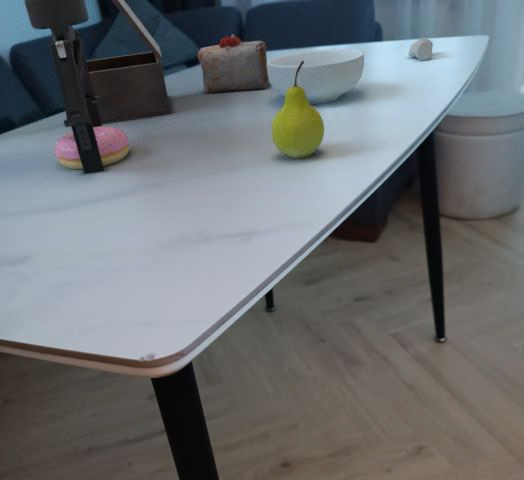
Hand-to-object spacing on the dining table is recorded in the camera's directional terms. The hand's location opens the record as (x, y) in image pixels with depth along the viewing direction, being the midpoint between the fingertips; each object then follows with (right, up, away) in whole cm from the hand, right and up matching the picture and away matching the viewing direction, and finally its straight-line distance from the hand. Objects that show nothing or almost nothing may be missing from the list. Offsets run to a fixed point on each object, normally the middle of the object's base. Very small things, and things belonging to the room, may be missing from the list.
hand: (96, 159), depth 89 cm
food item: (+20, +24, +32) cm, 45 cm away
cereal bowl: (+35, +16, +18) cm, 42 cm away
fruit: (+30, -3, -8) cm, 31 cm away
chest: (-1, +17, +25) cm, 30 cm away
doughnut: (0, 0, 0) cm, 0 cm away
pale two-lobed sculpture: (+59, +34, +39) cm, 78 cm away
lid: (0, +31, +16) cm, 35 cm away
